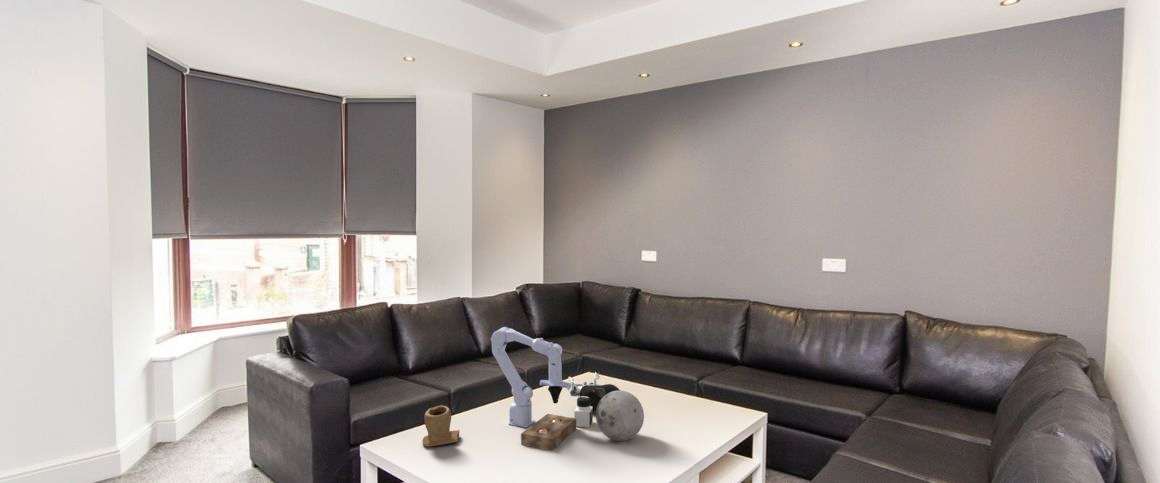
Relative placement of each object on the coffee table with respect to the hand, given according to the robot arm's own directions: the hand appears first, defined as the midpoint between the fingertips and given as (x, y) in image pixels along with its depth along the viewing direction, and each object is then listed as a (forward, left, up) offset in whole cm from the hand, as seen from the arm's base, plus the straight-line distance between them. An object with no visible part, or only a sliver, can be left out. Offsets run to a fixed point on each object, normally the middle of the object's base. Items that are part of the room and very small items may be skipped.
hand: (555, 402), depth 232 cm
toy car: (-7, +50, -11) cm, 52 cm away
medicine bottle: (+11, +7, -11) cm, 17 cm away
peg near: (+3, -17, -10) cm, 20 cm away
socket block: (+3, -11, -10) cm, 15 cm away
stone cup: (-34, -35, -11) cm, 50 cm away
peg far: (+3, -5, -10) cm, 12 cm away
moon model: (+31, -2, -11) cm, 32 cm away
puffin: (+10, +27, -11) cm, 31 cm away
